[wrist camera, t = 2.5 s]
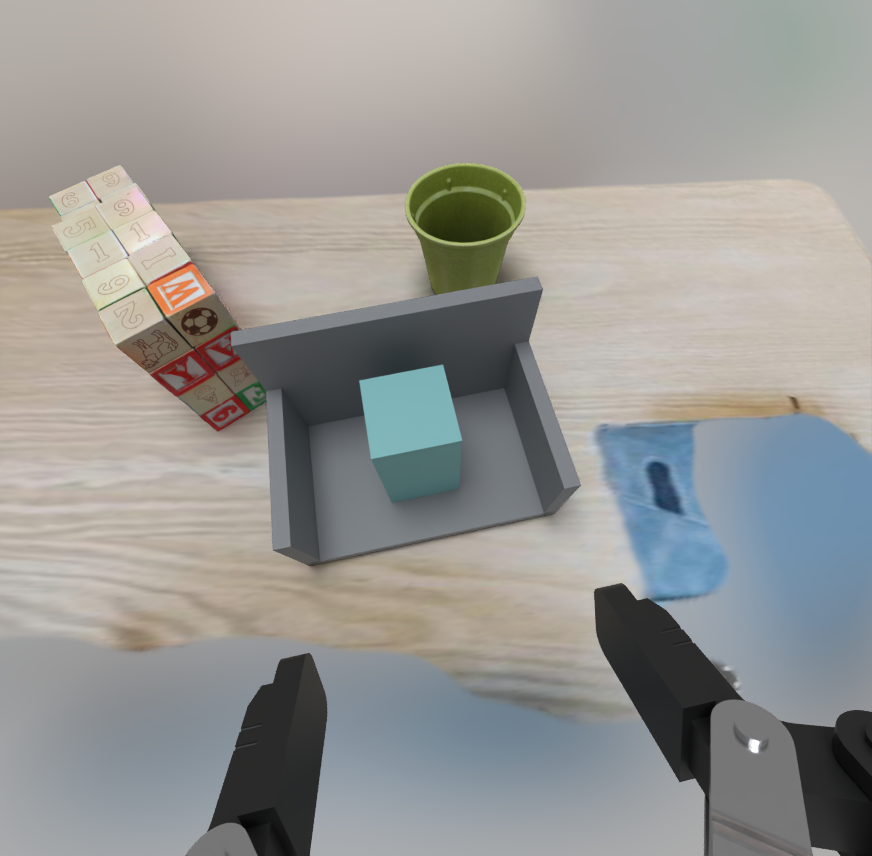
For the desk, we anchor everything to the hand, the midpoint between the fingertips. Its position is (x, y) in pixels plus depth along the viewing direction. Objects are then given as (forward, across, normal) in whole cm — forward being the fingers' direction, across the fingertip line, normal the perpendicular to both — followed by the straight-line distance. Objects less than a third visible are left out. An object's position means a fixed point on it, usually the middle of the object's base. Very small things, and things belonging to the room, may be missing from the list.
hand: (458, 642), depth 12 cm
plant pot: (+34, -7, -8) cm, 35 cm away
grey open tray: (+21, 0, +4) cm, 22 cm away
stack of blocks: (+34, +18, -8) cm, 39 cm away
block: (+20, 0, +4) cm, 21 cm away
